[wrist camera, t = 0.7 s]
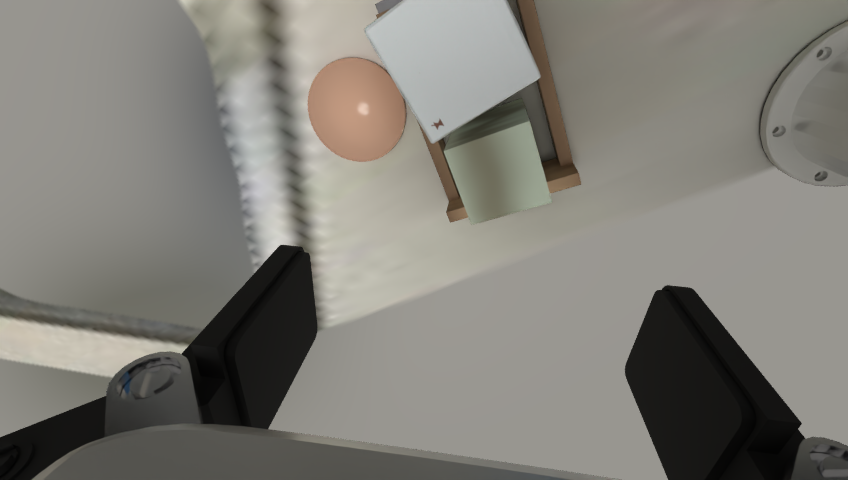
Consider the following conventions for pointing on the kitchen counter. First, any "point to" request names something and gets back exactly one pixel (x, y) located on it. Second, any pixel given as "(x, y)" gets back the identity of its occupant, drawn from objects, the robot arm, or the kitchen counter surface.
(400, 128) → the coaster
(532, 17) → the rack
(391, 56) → the supplement box
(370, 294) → the kitchen counter surface
